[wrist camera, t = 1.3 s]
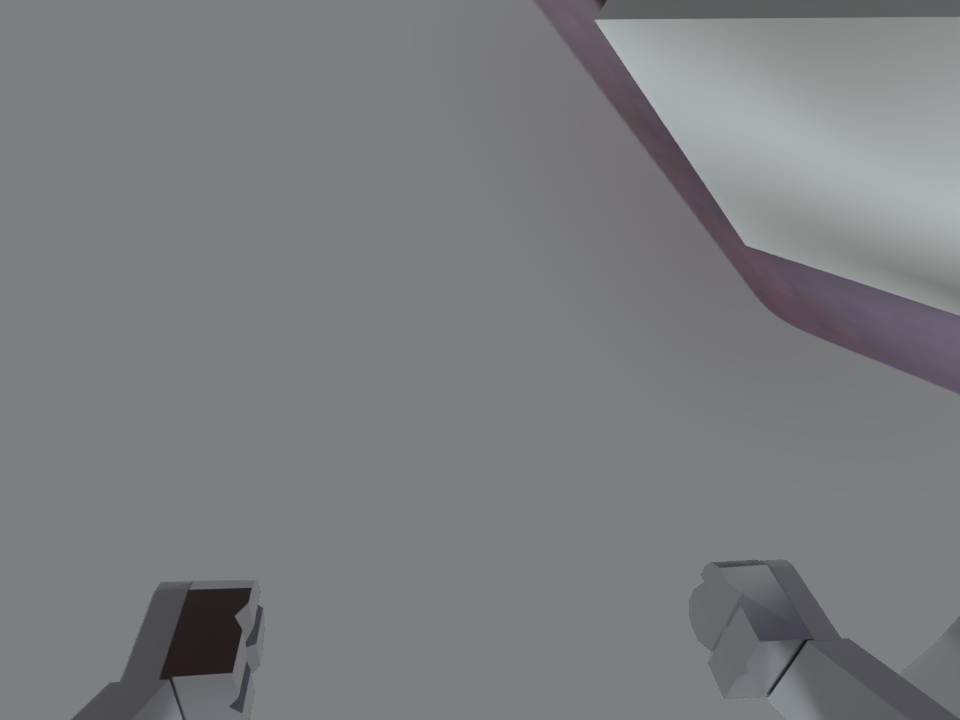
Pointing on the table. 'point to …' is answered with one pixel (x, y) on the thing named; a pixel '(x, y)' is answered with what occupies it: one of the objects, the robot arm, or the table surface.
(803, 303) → the table surface
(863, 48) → the bottle pad
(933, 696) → the plastic bottle
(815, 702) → the robot arm
